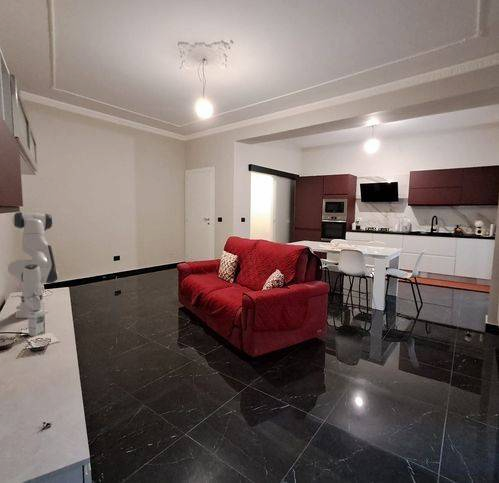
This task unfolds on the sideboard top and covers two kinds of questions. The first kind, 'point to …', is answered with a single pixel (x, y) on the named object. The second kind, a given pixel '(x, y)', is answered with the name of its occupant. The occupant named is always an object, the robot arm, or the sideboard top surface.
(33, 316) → the syrup box
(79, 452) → the sideboard top surface
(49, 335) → the mat
